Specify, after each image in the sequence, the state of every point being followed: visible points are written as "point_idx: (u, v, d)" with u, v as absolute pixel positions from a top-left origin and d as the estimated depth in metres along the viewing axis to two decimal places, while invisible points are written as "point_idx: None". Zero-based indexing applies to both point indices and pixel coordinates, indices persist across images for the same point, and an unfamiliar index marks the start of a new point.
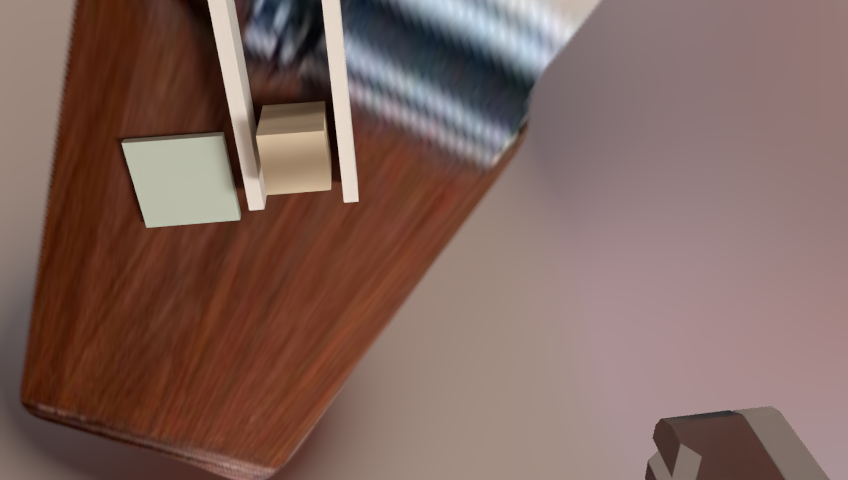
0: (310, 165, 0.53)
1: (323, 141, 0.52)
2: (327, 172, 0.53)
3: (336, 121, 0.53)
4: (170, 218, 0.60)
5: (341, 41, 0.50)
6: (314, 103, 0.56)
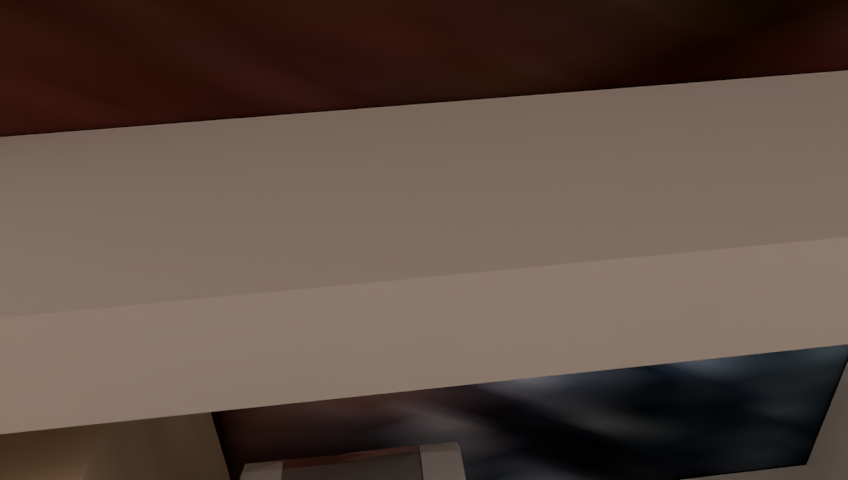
0: None
1: None
2: None
3: None
4: None
5: None
6: None
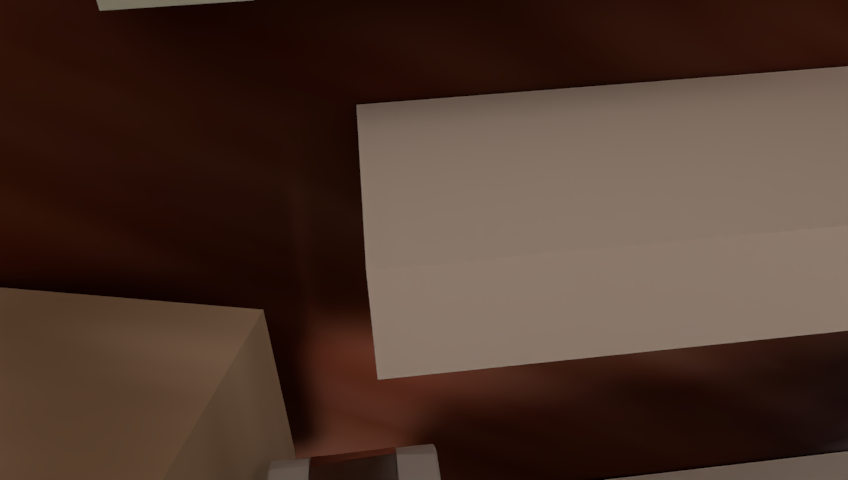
0: None
1: None
2: None
3: None
4: None
5: None
6: None
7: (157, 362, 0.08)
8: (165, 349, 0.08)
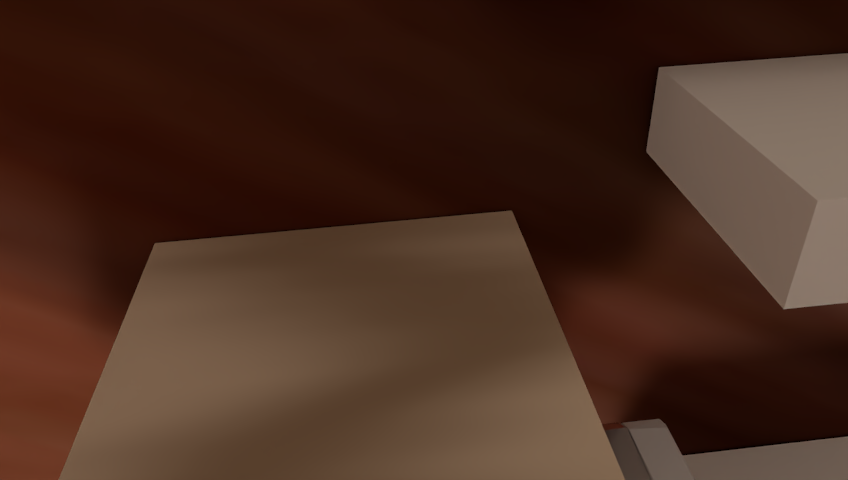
0: None
1: None
2: None
3: None
4: None
5: None
6: None
7: (466, 256, 0.09)
8: (461, 247, 0.09)
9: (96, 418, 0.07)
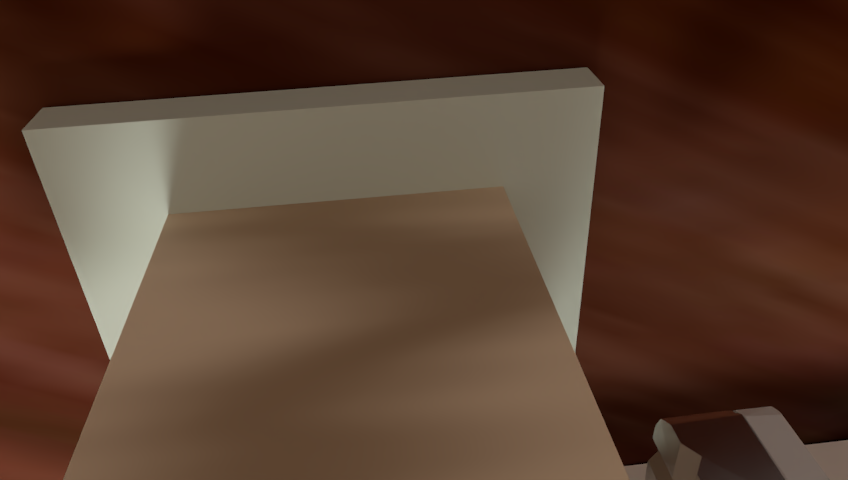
0: None
1: None
2: None
3: None
4: (121, 260, 0.10)
5: None
6: None
7: (460, 226, 0.10)
8: (455, 219, 0.10)
9: (121, 363, 0.07)
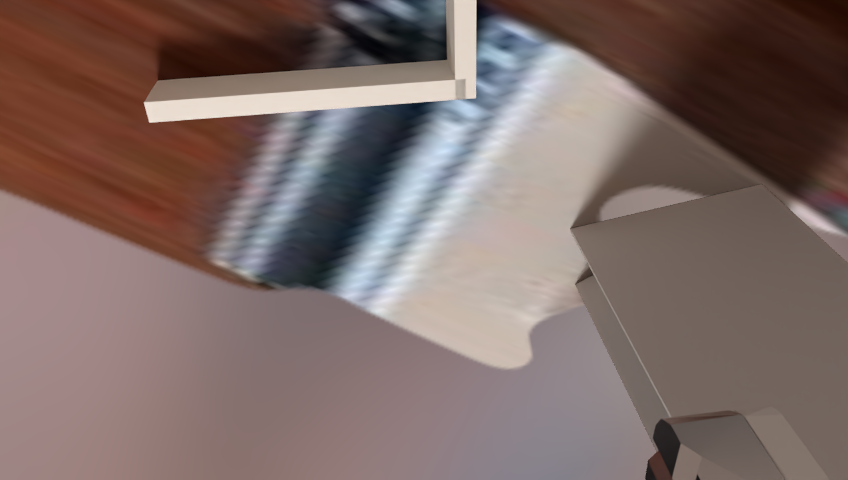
0: None
1: None
2: None
3: (276, 94, 0.39)
4: None
5: (387, 103, 0.40)
6: None
7: None
8: None
9: None
